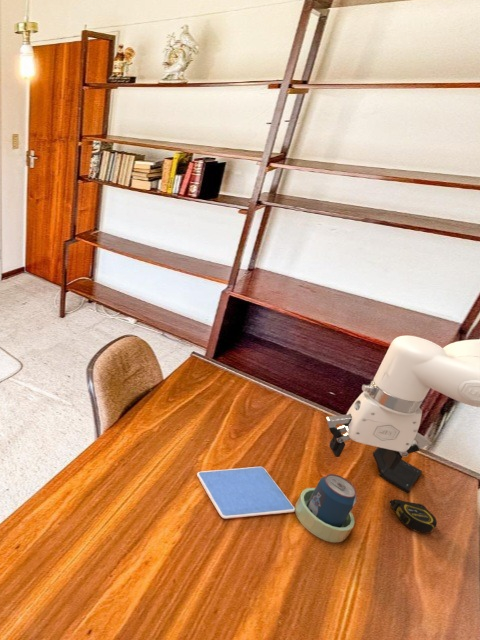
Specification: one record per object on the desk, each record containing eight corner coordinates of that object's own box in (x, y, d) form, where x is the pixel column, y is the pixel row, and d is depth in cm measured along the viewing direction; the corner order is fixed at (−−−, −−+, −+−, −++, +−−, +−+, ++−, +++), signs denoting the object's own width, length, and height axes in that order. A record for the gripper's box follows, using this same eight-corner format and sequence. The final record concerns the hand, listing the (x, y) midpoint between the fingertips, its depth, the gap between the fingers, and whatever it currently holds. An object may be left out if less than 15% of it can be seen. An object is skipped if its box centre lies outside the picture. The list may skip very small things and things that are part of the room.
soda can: (344, 524, 93) (365, 490, 87) (330, 539, 89) (351, 505, 84) (313, 500, 98) (331, 466, 93) (298, 513, 95) (316, 479, 89)
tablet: (262, 468, 106) (263, 465, 106) (296, 513, 95) (297, 509, 95) (194, 474, 104) (195, 471, 104) (221, 521, 93) (223, 517, 92)
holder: (351, 522, 94) (359, 510, 92) (340, 552, 87) (348, 540, 85) (302, 491, 101) (308, 480, 99) (288, 517, 94) (294, 505, 92)
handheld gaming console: (421, 493, 99) (404, 454, 101) (384, 491, 104) (368, 453, 106) (423, 472, 107) (408, 436, 108) (389, 471, 112) (374, 436, 114)
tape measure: (418, 512, 97) (425, 502, 95) (437, 540, 91) (445, 529, 89) (386, 505, 98) (393, 495, 96) (403, 532, 92) (410, 522, 90)
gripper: (349, 398, 76) (319, 460, 83) (461, 420, 71) (419, 484, 79) (335, 374, 83) (308, 434, 90) (437, 393, 78) (400, 455, 85)
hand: (360, 457), depth 84 cm, fingers open, 9 cm apart
